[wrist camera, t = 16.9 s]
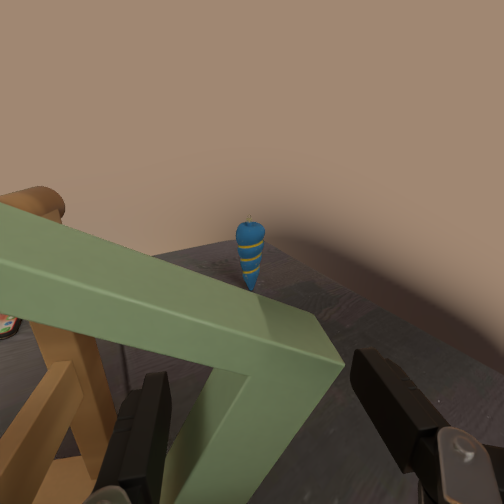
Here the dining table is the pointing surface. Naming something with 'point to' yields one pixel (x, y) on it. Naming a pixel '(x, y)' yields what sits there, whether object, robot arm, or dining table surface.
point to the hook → (179, 346)
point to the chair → (57, 404)
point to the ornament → (250, 249)
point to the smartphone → (8, 325)
